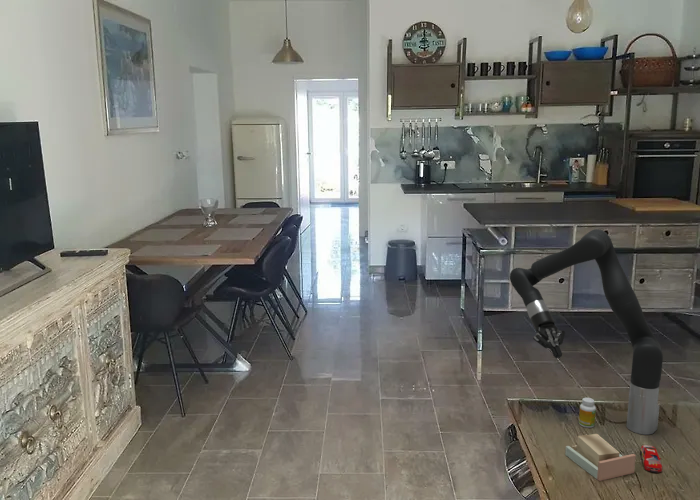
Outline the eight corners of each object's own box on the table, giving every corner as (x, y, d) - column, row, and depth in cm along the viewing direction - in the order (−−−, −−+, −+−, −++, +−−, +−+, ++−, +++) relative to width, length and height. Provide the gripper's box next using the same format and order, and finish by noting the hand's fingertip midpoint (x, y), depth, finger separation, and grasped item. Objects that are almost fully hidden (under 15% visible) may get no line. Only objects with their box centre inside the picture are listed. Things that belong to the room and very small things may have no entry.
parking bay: (598, 447, 202) (599, 431, 201) (634, 472, 187) (635, 455, 186) (565, 454, 198) (566, 438, 197) (599, 481, 183) (600, 463, 182)
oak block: (595, 453, 199) (597, 433, 198) (617, 473, 188) (619, 452, 186) (576, 455, 198) (577, 435, 196) (597, 475, 186) (599, 455, 185)
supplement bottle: (593, 429, 214) (594, 404, 212) (577, 425, 217) (579, 401, 215) (595, 423, 219) (597, 398, 217) (580, 419, 222) (582, 395, 220)
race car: (662, 476, 186) (664, 464, 185) (643, 472, 188) (644, 461, 187) (657, 454, 198) (658, 443, 197) (639, 451, 200) (640, 440, 199)
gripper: (529, 311, 218) (548, 355, 209) (559, 308, 222) (579, 350, 213) (520, 321, 224) (538, 364, 215) (549, 317, 228) (569, 359, 219)
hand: (559, 357), depth 214 cm, fingers closed
